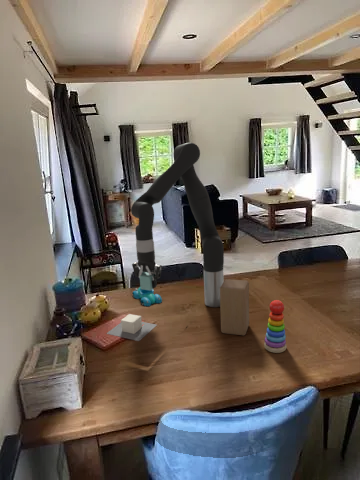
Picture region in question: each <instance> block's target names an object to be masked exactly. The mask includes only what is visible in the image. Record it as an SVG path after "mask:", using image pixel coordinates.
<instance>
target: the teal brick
mask: <svg viewBox="0 0 360 480" xmlns="http://www.w3.org/2000/svg"><path fill="white" fill-rule="evenodd" d="M155 274H156V273H155ZM153 276H154V275H153ZM139 284H140V285H139V288H140V287H141V289H143V290H150V291H151V290H152V289H153V290H154V289H155V288H152V279H151V276H150V275H149V273H147V272H145V273H144V274H142V275H140V278H139Z"/></svg>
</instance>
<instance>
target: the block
mask: <svg viewBox="0 0 360 480" xmlns="http://www.w3.org/2000/svg"><path fill="white" fill-rule="evenodd" d="M219 311H220V331H221V333H222V334H228V335H235V336H237V335H238V336H246V334H247V331H248V328H249V324H250V282H249V280H246V279H229V278H226V279H225V278H224V282H223V284H222V286H221V287H220V309H219Z"/></svg>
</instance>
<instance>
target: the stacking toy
mask: <svg viewBox="0 0 360 480" xmlns="http://www.w3.org/2000/svg"><path fill="white" fill-rule="evenodd" d="M269 310H270V312H269V315H268V316H269V318H268V320H267V322H268V323H267V328H266V333H265V337H264V343H263V344H264V345H263V347H264V348H265V350H266V351H267V352H271V353H274V354H275V353H276V354H279V353H283V352H285V351H286V349H287V343H286V342H287V340H286V338H287V336H286V330H285V327H286V326H285V319H284V317H285V315H284V310H285V304H284V303H283V302H282V301H281V300H279V299H275V300H272V301H271V302H270V303H269Z"/></svg>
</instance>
